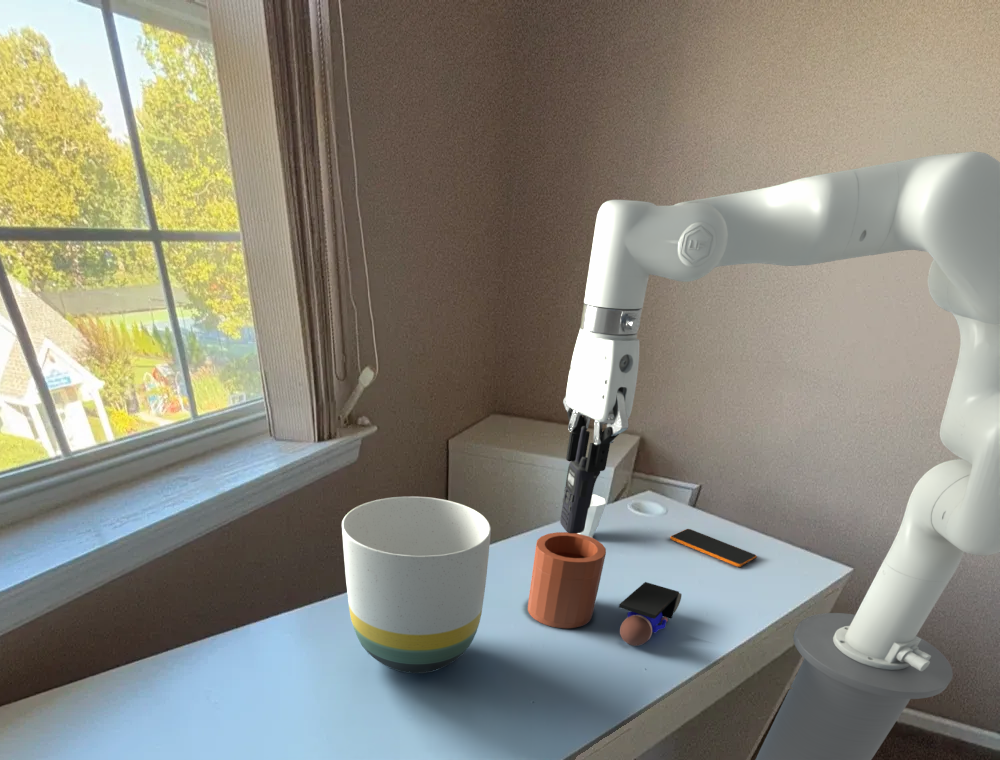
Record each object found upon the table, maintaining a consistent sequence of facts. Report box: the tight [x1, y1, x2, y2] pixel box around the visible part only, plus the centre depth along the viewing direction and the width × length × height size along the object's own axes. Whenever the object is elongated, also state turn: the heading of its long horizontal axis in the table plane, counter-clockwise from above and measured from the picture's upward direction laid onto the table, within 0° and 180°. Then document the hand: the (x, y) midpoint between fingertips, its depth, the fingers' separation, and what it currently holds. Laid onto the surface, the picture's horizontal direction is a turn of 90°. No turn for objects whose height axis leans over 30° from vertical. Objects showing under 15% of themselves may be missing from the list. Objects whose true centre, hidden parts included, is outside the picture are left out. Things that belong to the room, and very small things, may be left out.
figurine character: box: [618, 581, 682, 647], centre depth 105 cm, size 7×8×15 cm
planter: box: [341, 496, 492, 674], centre depth 90 cm, size 20×20×21 cm
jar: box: [527, 531, 607, 629], centre depth 106 cm, size 11×11×12 cm
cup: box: [577, 493, 607, 539], centre depth 132 cm, size 7×10×8 cm
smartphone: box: [669, 528, 758, 568], centre depth 133 cm, size 8×17×1 cm, turn 43°
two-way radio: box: [559, 426, 601, 534], centre depth 96 cm, size 6×4×15 cm
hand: (585, 464), depth 94 cm, fingers closed on two-way radio, 4 cm apart
